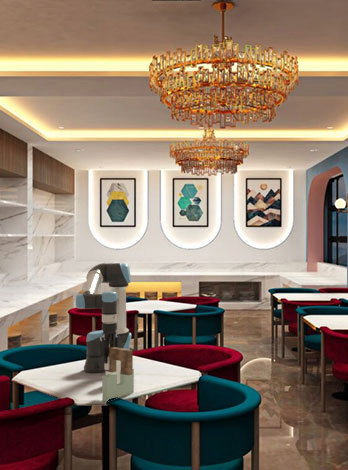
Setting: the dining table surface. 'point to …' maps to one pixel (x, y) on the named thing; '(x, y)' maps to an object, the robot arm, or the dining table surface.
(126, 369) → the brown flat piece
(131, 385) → the slot stand
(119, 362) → the milk
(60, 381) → the dining table surface
